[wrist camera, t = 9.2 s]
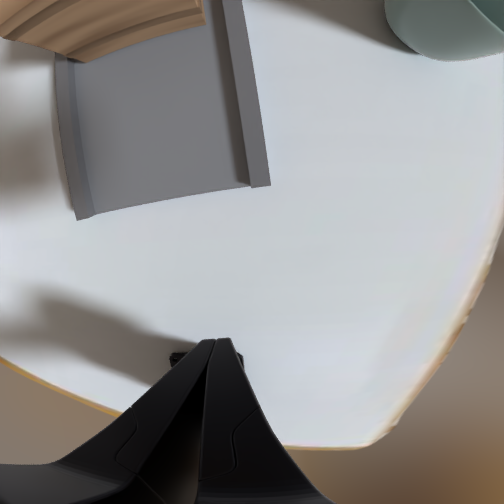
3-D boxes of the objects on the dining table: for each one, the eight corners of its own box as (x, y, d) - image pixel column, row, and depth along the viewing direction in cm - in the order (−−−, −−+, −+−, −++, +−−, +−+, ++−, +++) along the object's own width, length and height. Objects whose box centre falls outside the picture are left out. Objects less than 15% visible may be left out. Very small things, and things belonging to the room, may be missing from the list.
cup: (359, 36, 15) (425, -25, 6) (381, -28, 13) (435, -90, 3) (446, 88, 16) (538, 74, 7) (459, 21, 14) (534, -9, 4)
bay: (269, 181, 19) (278, 211, 11) (88, 214, 20) (12, 256, 12) (224, -79, 11) (211, -144, 3) (72, -29, 12) (18, -64, 4)
